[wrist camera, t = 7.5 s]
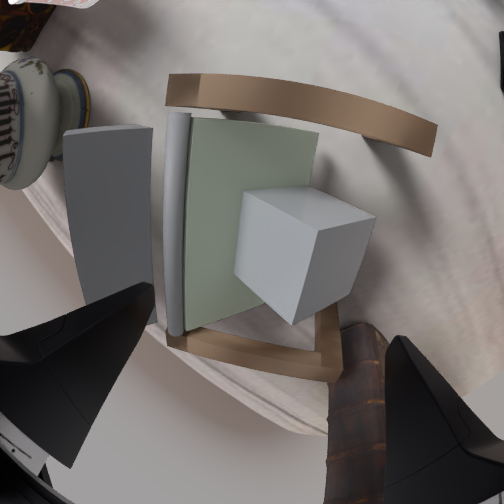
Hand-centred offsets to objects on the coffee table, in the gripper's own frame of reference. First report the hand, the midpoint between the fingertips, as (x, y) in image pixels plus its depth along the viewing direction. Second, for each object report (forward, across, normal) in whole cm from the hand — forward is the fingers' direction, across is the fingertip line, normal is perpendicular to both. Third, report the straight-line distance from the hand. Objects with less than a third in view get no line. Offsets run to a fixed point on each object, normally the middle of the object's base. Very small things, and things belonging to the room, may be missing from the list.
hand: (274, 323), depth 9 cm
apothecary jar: (+12, +24, -6) cm, 27 cm away
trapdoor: (+8, +8, 0) cm, 11 cm away
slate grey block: (+8, +1, 0) cm, 8 cm away
